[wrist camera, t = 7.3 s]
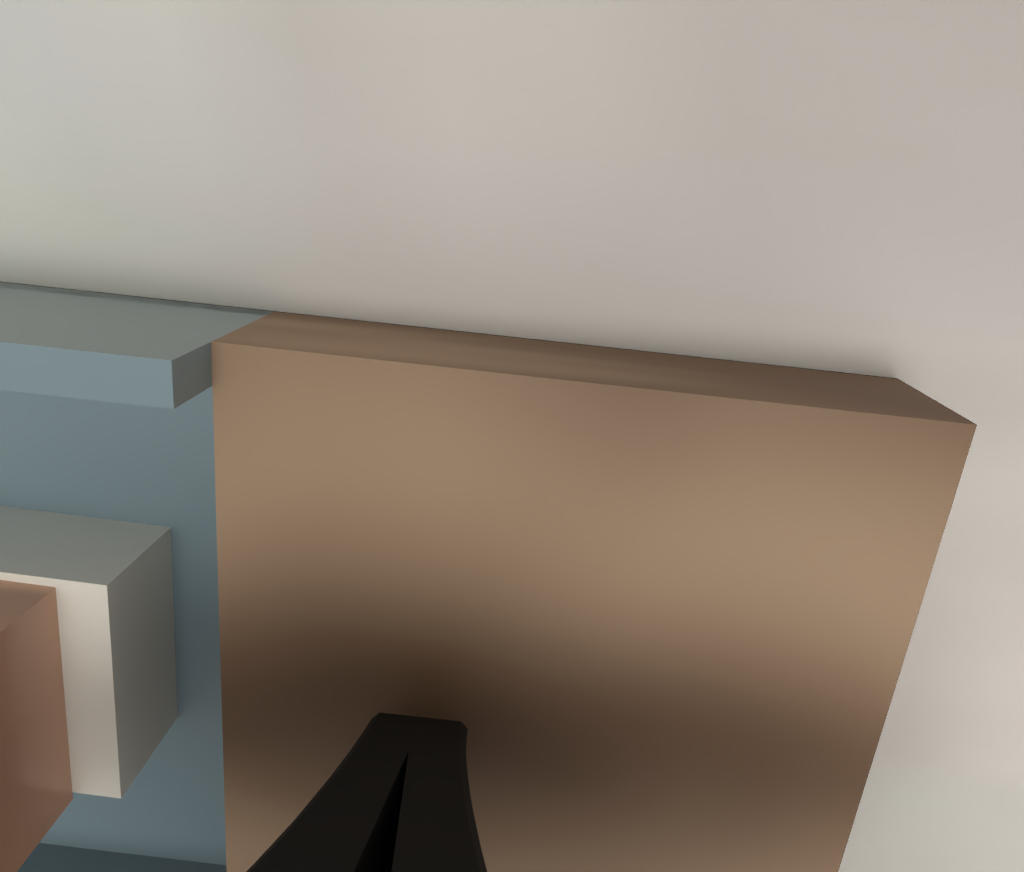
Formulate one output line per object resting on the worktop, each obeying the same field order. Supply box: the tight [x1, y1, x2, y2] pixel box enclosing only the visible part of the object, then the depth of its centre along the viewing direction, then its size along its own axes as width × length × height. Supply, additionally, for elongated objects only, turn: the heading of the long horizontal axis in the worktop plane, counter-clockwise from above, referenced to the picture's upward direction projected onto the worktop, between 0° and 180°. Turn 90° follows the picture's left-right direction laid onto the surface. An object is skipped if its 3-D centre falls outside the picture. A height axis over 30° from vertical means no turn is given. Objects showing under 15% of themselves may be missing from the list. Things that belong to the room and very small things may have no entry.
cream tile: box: [0, 506, 177, 799], centre depth 13 cm, size 4×4×2 cm
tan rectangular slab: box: [211, 312, 977, 872], centre depth 13 cm, size 12×10×2 cm
